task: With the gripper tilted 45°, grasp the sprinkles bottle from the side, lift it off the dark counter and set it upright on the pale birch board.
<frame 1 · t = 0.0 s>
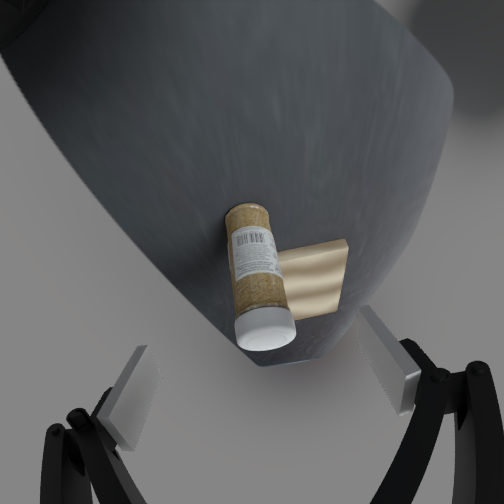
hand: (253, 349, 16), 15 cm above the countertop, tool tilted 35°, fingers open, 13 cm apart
birch board: (299, 284, 40), on the countertop
sprinkles bottle: (246, 216, 29), on the countertop
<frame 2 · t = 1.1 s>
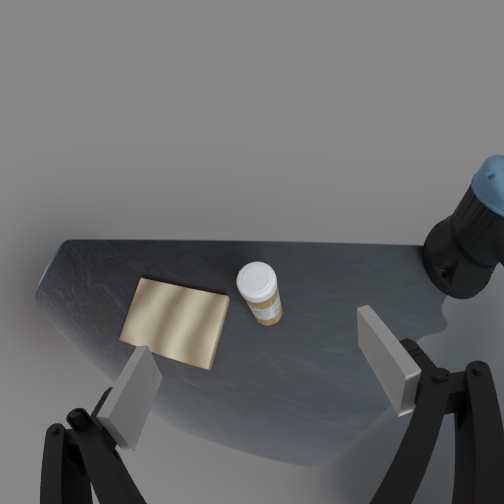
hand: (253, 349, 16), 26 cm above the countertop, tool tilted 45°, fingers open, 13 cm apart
birch board: (173, 322, 45), on the countertop
sprinkles bottle: (268, 312, 44), on the countertop
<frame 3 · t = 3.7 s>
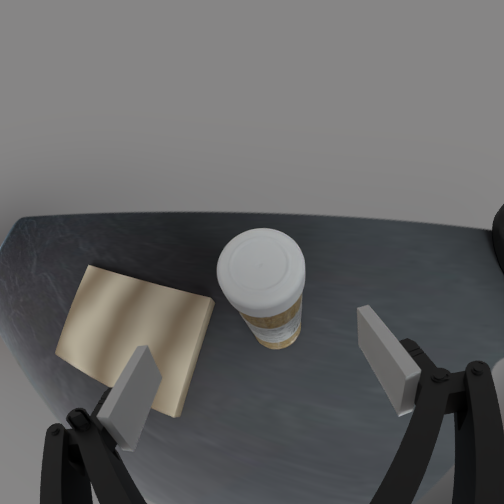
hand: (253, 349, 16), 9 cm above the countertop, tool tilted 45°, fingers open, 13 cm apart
birch board: (127, 334, 27), on the countertop
sprinkles bottle: (277, 327, 26), on the countertop
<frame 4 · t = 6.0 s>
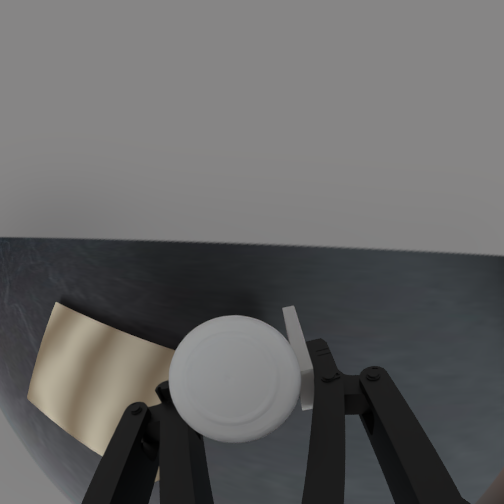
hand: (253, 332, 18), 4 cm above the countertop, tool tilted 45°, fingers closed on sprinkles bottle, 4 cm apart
birch board: (98, 386, 21), on the countertop
sprinkles bottle: (268, 389, 20), on the countertop, touching gripper
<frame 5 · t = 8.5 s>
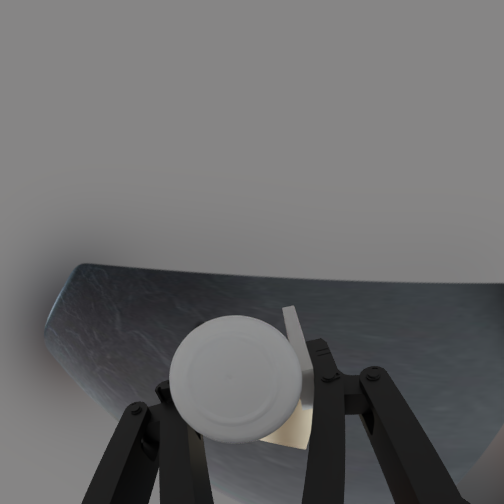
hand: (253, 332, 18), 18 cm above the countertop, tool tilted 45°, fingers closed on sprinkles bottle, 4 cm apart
birch board: (251, 390, 33), on the countertop
sprinkles bottle: (268, 389, 20), point 14 cm above the countertop, touching gripper
when the fingers open (6 cm above the countertop, at t = 11.2 s): sprinkles bottle stays where it is, resting on birch board.
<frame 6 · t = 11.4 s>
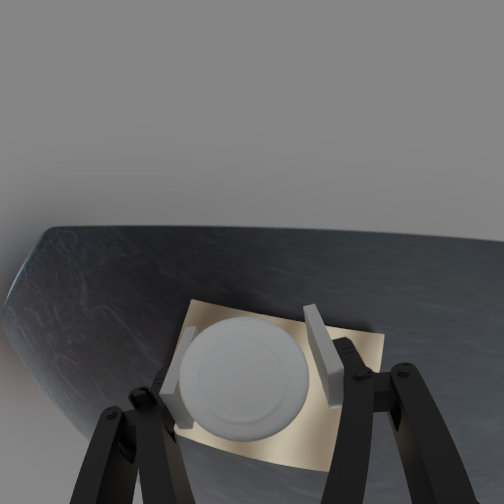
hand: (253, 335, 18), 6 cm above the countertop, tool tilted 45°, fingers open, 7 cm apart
birch board: (269, 389, 21), on the countertop
sprinkles bottle: (270, 389, 20), point 1 cm above the countertop, touching birch board
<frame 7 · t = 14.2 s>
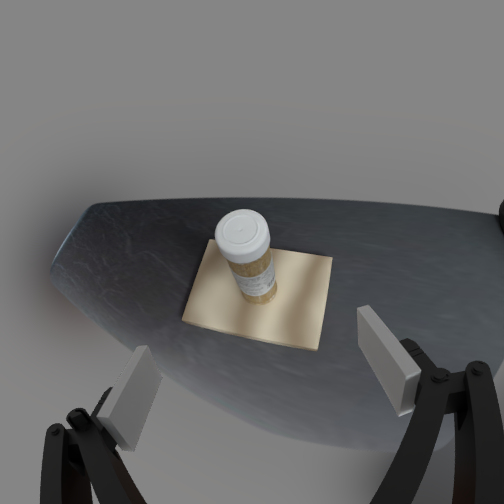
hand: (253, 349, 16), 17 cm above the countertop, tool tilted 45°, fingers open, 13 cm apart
birch board: (259, 293, 36), on the countertop
sprinkles bottle: (259, 290, 35), point 1 cm above the countertop, touching birch board
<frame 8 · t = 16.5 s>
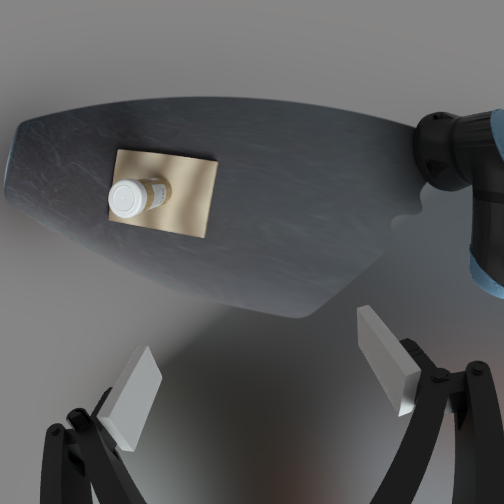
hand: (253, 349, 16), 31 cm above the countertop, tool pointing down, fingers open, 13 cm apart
birch board: (161, 191, 44), on the countertop
sprinkles bottle: (159, 191, 42), point 1 cm above the countertop, touching birch board
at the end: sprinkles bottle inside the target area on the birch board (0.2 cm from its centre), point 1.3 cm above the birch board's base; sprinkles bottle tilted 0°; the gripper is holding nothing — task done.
